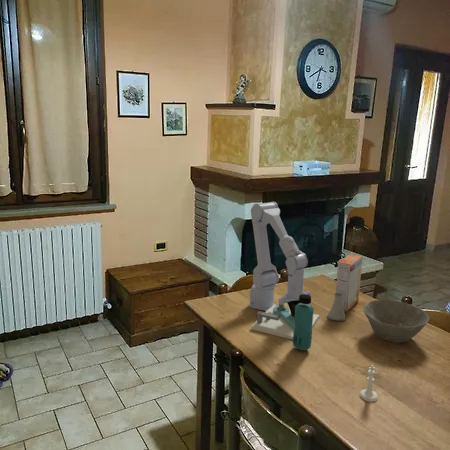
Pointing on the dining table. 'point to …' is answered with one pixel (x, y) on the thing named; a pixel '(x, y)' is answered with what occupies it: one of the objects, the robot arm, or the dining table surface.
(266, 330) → the board
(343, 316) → the flask
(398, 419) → the dining table surface
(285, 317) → the link
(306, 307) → the beverage bottle
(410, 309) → the ceramic bowl
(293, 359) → the dining table surface
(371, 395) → the chess piece
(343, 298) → the cracker box
